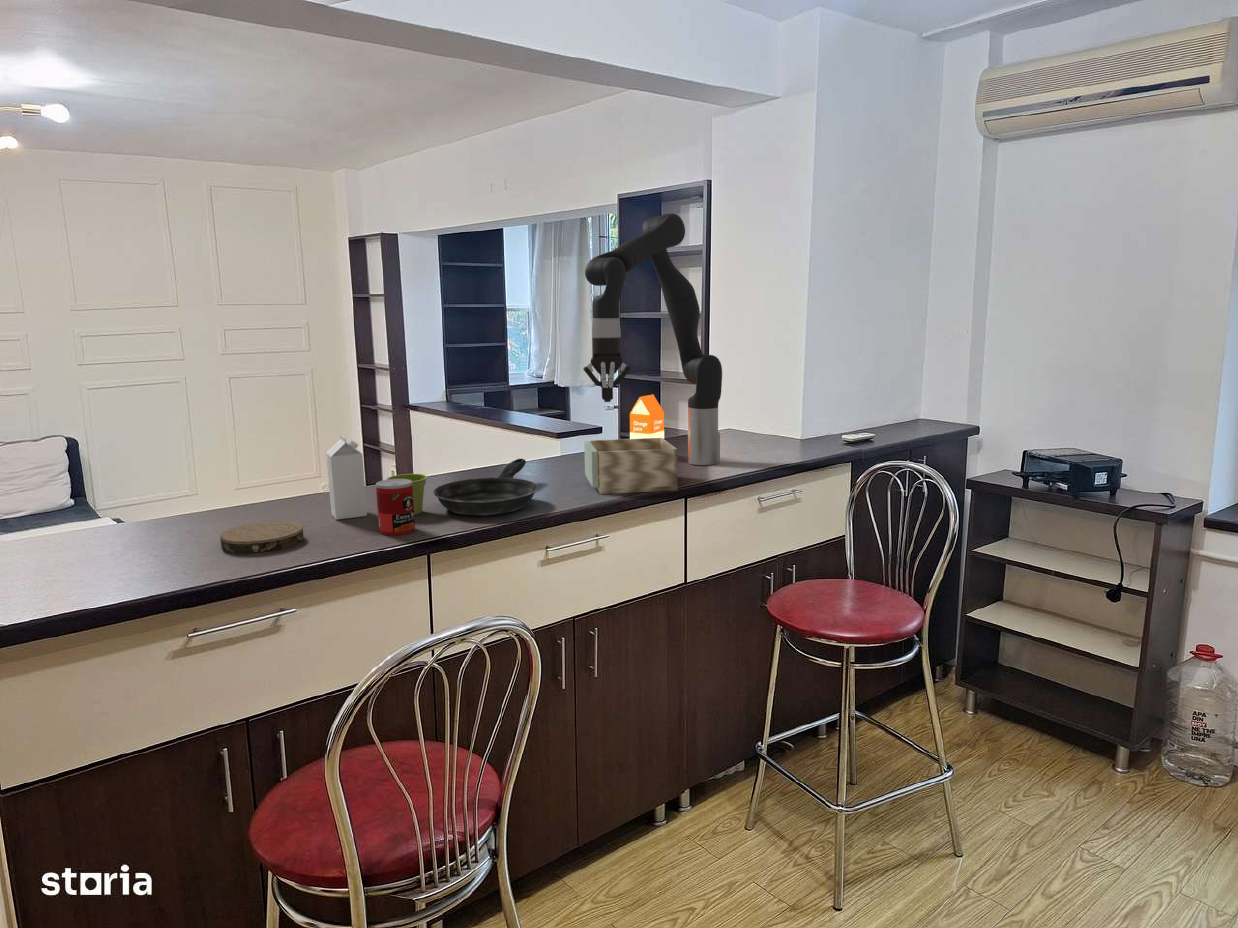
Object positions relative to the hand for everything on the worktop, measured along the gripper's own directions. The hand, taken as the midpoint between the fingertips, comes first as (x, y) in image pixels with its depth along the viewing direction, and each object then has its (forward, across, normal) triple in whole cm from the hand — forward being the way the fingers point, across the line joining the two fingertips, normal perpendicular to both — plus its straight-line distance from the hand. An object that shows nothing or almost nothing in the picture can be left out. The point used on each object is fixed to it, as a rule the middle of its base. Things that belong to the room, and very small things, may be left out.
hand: (607, 401), depth 218 cm
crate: (+23, -6, 0) cm, 24 cm away
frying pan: (+23, +31, +11) cm, 40 cm away
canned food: (+23, +52, +36) cm, 67 cm away
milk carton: (+23, +65, +19) cm, 72 cm away
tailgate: (+21, +4, 0) cm, 22 cm away
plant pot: (+23, +51, +20) cm, 59 cm away
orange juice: (+23, -18, -39) cm, 49 cm away
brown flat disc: (+24, +79, +40) cm, 92 cm away
